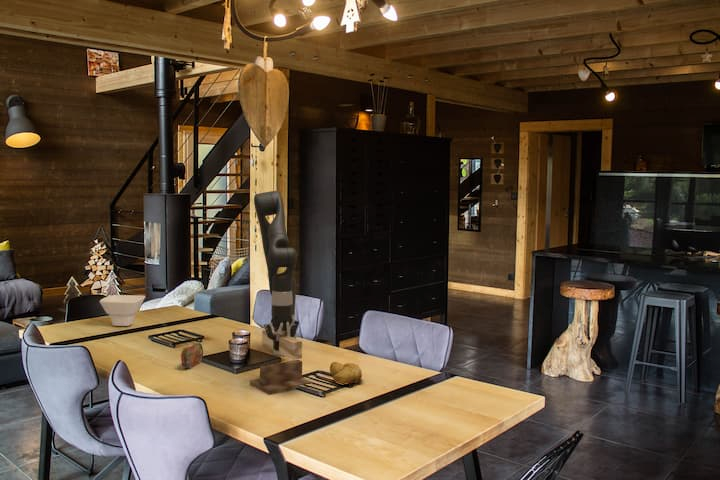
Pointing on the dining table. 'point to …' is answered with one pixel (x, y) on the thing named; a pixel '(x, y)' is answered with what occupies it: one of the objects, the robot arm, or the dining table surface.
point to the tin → (192, 355)
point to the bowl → (122, 308)
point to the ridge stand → (280, 377)
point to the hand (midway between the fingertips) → (281, 349)
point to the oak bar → (284, 345)
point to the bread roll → (345, 372)
